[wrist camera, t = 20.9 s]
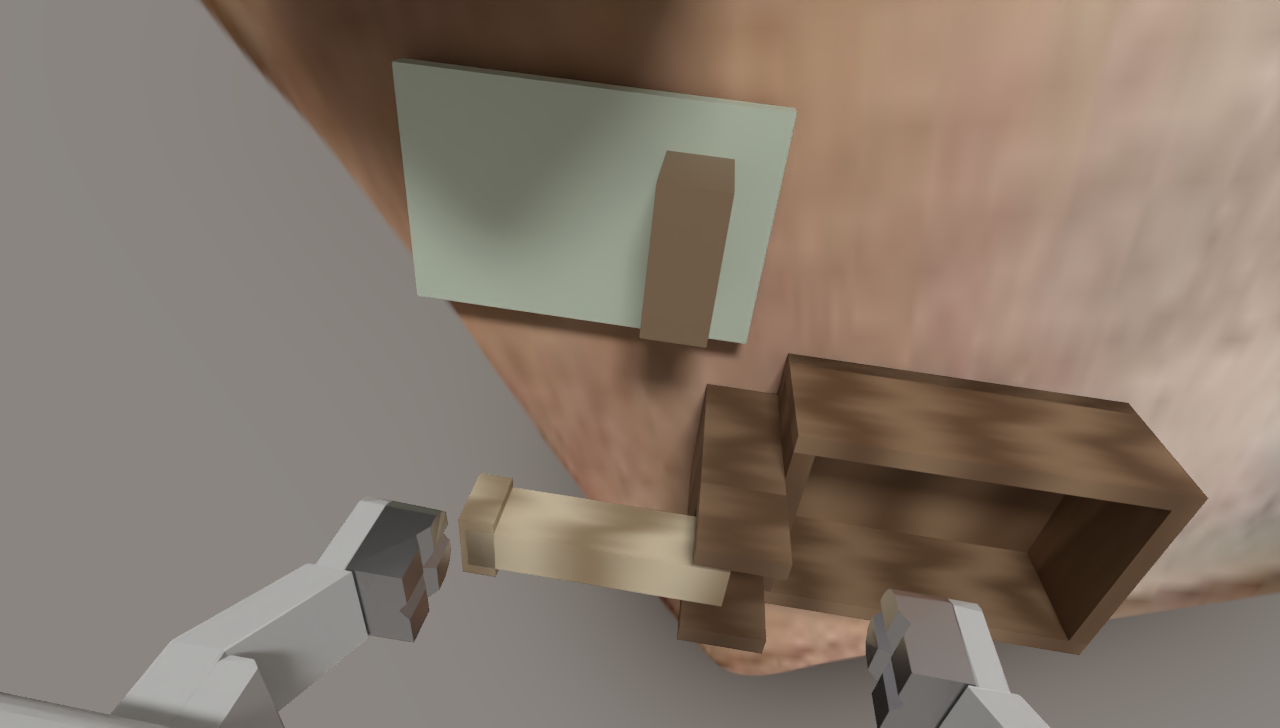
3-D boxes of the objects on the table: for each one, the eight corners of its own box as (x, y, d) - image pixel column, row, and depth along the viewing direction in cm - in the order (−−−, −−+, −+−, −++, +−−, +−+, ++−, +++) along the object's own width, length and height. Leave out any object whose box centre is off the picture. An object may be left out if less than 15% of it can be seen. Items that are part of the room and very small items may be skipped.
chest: (1128, 403, 34) (1288, 594, 24) (1030, 553, 41) (1124, 750, 31) (715, 342, 35) (706, 501, 25) (685, 498, 42) (670, 672, 32)
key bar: (733, 513, 31) (732, 564, 28) (720, 563, 33) (719, 614, 30) (480, 473, 31) (458, 519, 29) (483, 524, 33) (462, 571, 31)
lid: (793, 102, 29) (806, 142, 23) (745, 324, 35) (747, 395, 30) (411, 54, 30) (338, 81, 24) (432, 279, 36) (378, 339, 31)
